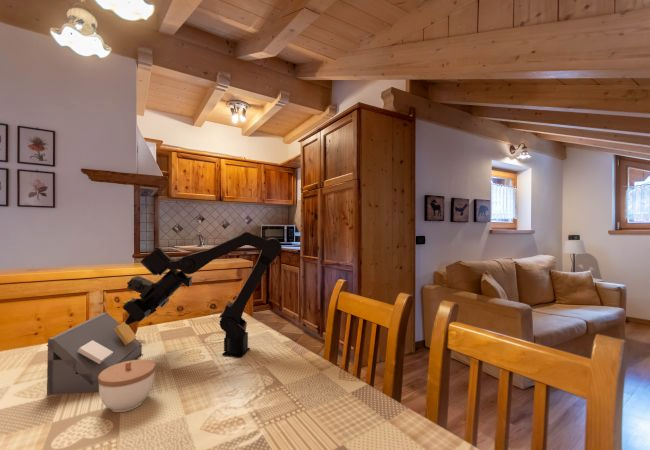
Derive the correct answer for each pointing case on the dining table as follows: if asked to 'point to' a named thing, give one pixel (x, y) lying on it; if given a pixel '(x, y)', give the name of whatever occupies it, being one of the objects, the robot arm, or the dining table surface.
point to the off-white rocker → (95, 351)
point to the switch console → (78, 370)
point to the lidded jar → (126, 384)
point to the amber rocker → (125, 333)
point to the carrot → (133, 325)
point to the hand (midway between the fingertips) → (126, 323)
